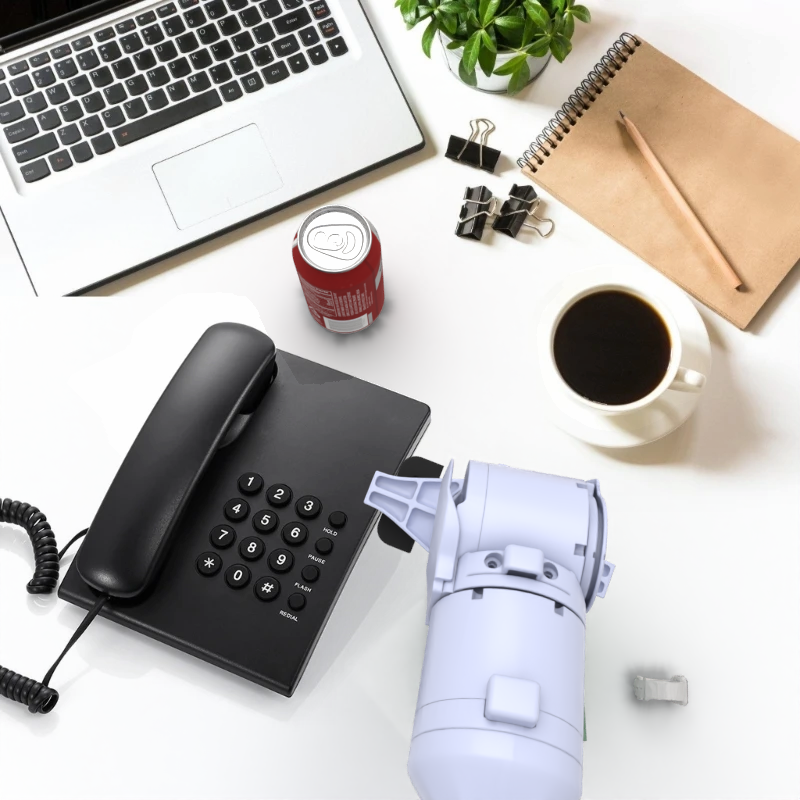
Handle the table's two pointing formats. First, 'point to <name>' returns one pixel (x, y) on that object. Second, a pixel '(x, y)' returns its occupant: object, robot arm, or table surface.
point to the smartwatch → (662, 689)
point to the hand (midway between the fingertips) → (477, 530)
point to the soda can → (340, 268)
